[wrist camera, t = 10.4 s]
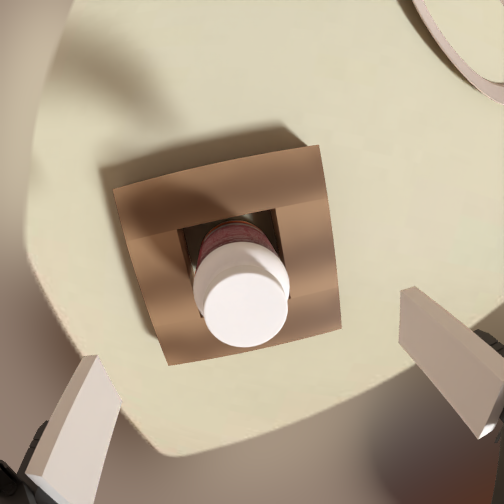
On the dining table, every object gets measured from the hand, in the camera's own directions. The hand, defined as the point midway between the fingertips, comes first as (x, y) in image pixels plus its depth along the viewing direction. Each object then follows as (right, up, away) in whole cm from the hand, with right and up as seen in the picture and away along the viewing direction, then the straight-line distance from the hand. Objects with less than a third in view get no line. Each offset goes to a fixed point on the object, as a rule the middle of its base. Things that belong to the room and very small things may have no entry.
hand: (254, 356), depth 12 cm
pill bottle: (-2, +4, +15) cm, 16 cm away
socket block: (-2, +4, +15) cm, 16 cm away
